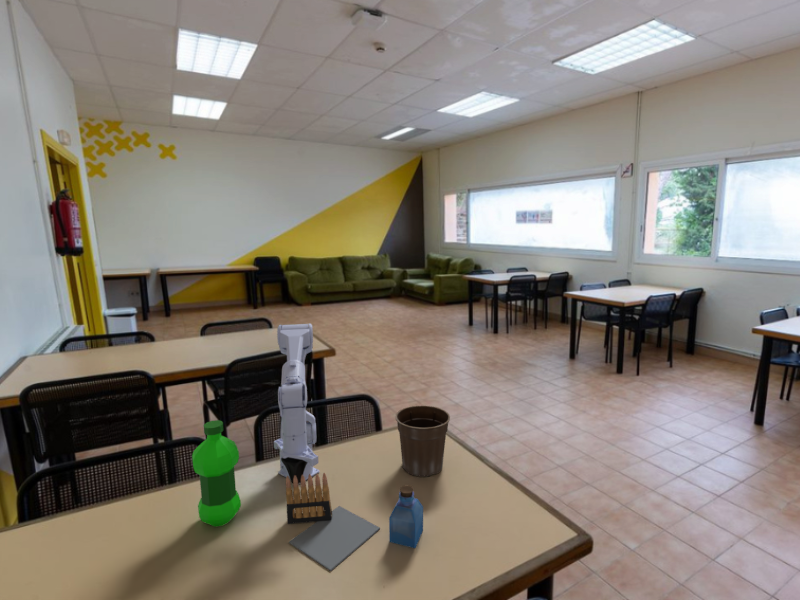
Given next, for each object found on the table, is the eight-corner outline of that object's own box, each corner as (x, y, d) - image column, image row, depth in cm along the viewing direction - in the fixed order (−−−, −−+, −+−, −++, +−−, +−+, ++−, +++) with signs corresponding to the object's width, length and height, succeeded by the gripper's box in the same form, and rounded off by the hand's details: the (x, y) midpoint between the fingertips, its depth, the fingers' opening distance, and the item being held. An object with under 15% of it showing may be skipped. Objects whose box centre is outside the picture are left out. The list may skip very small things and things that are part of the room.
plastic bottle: (250, 518, 106) (244, 423, 102) (207, 540, 98) (199, 438, 94) (231, 501, 113) (225, 411, 109) (190, 520, 105) (181, 425, 101)
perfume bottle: (423, 530, 102) (423, 484, 100) (415, 548, 96) (415, 499, 94) (398, 524, 104) (398, 479, 102) (389, 542, 98) (389, 494, 96)
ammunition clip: (332, 515, 106) (328, 470, 104) (331, 520, 104) (327, 474, 102) (289, 519, 106) (284, 474, 104) (287, 524, 104) (282, 478, 102)
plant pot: (399, 450, 138) (399, 403, 136) (449, 454, 136) (450, 406, 133) (391, 479, 122) (391, 426, 120) (448, 483, 120) (449, 429, 118)
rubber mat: (289, 543, 97) (288, 541, 97) (339, 507, 110) (339, 505, 110) (330, 571, 89) (330, 569, 89) (379, 529, 102) (379, 527, 102)
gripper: (262, 429, 105) (265, 480, 107) (300, 446, 97) (303, 501, 99) (285, 419, 111) (288, 467, 113) (324, 435, 102) (326, 487, 104)
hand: (296, 482), depth 106 cm, fingers closed
